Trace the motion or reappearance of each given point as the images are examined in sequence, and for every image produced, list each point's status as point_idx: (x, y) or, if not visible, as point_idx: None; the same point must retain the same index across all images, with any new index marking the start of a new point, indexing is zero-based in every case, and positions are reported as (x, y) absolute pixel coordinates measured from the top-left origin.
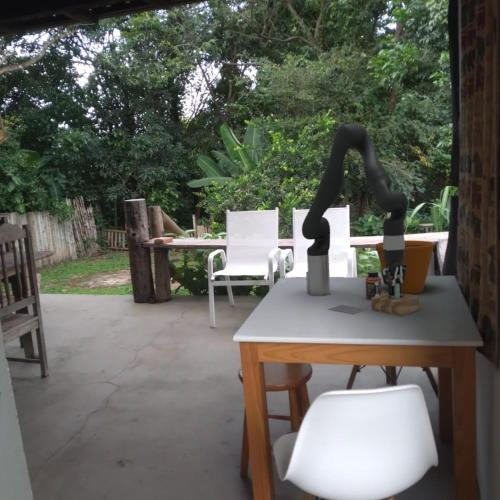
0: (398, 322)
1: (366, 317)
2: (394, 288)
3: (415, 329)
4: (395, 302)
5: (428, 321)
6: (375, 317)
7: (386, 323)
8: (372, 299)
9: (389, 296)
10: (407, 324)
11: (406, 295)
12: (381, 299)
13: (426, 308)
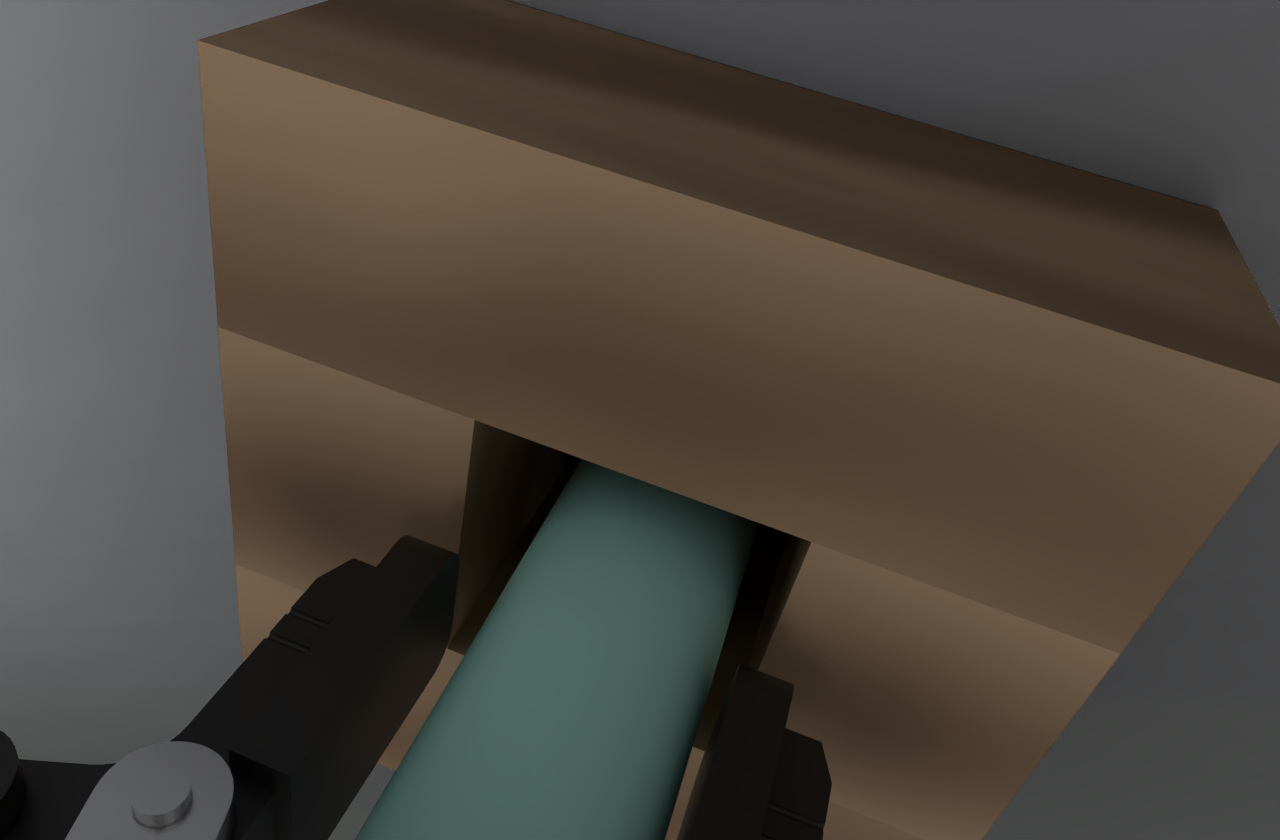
0: (142, 533)
1: (24, 42)
2: (336, 811)
3: (67, 685)
4: (249, 620)
5: (370, 791)
6: (124, 196)
7: (14, 413)
8: (226, 72)
9: (636, 472)
10: (146, 621)
11: (850, 803)
12: (224, 357)
13: (1005, 825)
